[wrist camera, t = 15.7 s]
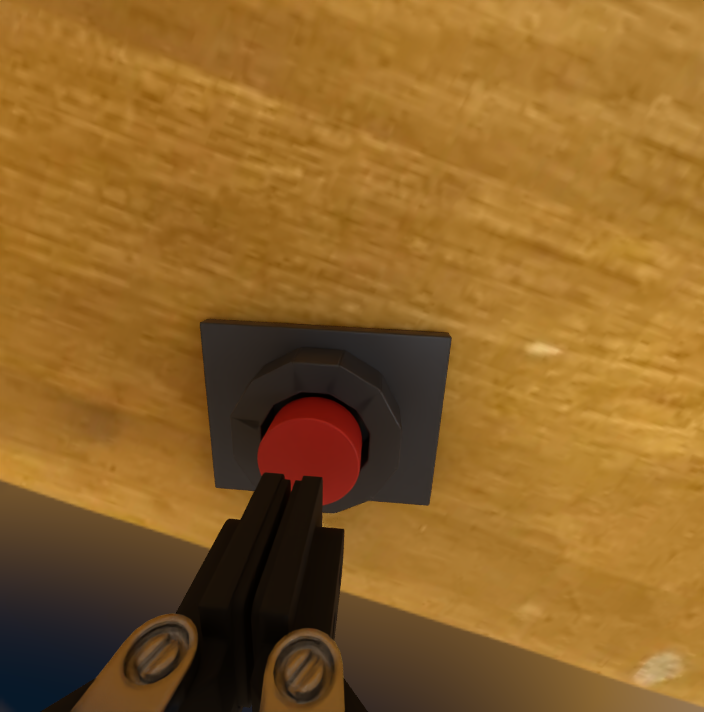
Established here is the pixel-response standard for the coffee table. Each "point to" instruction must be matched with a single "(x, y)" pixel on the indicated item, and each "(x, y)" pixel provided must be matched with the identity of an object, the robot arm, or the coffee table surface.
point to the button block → (331, 381)
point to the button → (314, 445)
